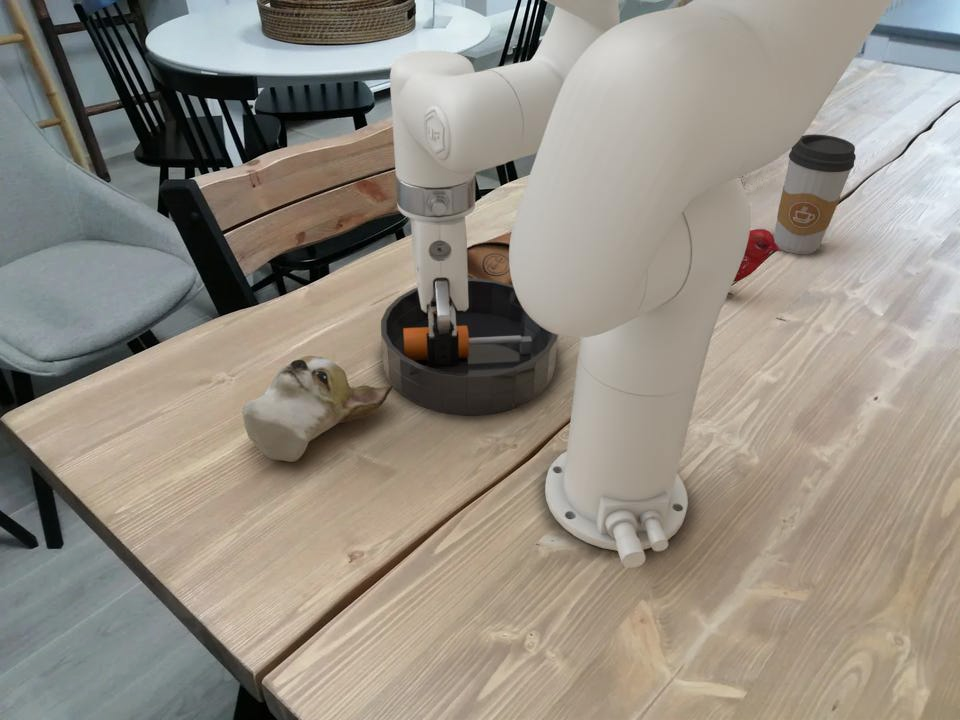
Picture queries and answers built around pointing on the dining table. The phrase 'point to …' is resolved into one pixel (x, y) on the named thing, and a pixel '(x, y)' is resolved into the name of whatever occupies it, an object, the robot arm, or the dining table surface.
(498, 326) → the bowl
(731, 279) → the robot arm
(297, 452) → the ceramic sculpture
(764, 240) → the decorative bird figurine
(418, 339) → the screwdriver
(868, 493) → the dining table surface
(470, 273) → the sunglasses case
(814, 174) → the coffee cup
